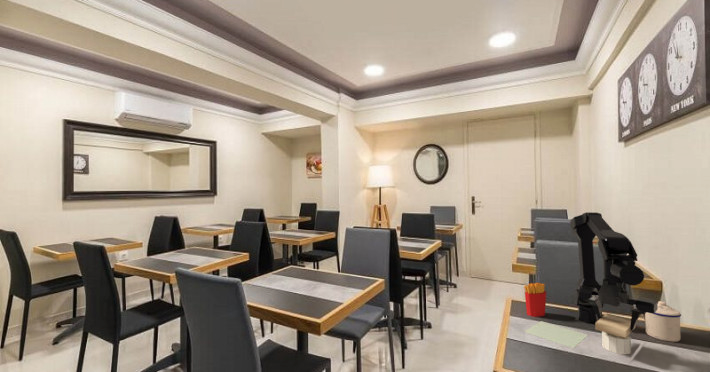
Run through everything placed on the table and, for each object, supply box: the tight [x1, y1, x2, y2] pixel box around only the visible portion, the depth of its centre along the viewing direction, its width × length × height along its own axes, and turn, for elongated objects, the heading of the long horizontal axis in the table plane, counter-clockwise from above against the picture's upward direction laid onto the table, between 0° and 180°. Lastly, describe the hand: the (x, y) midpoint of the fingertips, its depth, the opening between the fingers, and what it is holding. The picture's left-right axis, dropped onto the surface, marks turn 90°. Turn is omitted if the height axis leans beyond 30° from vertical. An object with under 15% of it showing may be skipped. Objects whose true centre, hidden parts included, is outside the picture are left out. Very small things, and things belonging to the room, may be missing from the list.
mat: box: [523, 320, 589, 349], centre depth 111 cm, size 14×15×1 cm
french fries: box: [523, 282, 547, 318], centre depth 128 cm, size 9×4×13 cm, turn 106°
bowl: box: [601, 331, 632, 355], centre depth 100 cm, size 7×7×5 cm
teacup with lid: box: [641, 300, 682, 343], centre depth 111 cm, size 12×9×12 cm
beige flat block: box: [594, 312, 637, 338], centre depth 100 cm, size 12×7×2 cm, turn 128°
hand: (615, 325), depth 100 cm, fingers closed on beige flat block, 7 cm apart
